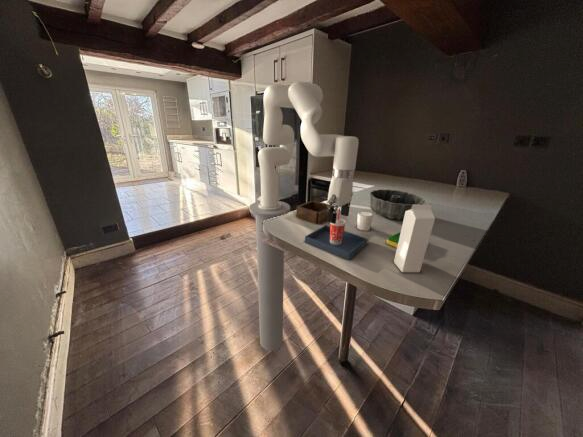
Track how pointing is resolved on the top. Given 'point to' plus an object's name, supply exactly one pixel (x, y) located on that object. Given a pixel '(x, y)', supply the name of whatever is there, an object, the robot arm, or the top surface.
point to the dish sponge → (394, 240)
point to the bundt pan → (393, 202)
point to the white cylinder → (364, 220)
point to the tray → (345, 249)
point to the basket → (313, 212)
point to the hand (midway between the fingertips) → (338, 218)
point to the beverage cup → (337, 230)
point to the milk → (414, 238)
